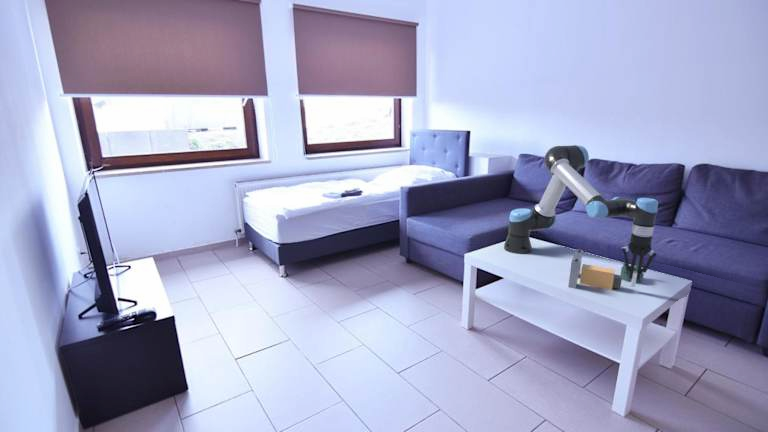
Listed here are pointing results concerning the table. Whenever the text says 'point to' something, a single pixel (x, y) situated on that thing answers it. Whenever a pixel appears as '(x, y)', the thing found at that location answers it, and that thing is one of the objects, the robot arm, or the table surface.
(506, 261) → the table surface
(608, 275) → the plug
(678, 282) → the table surface
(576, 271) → the housing
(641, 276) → the teal lumpy piece
